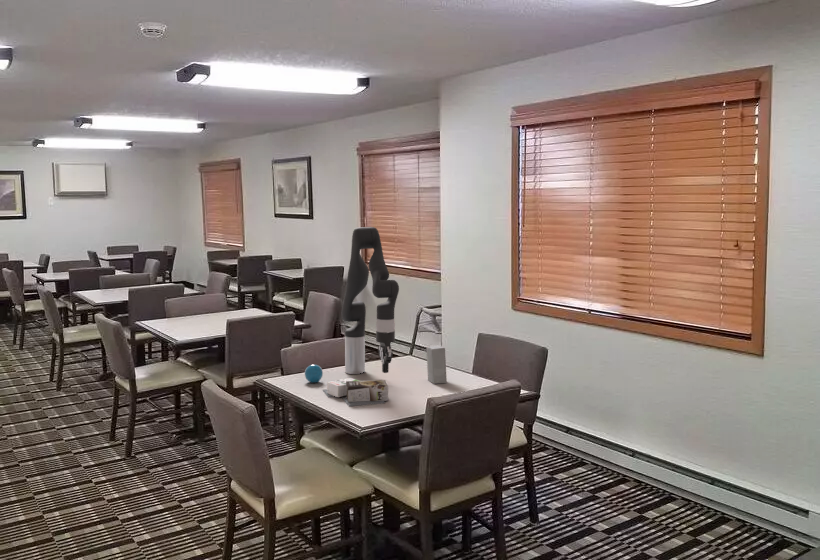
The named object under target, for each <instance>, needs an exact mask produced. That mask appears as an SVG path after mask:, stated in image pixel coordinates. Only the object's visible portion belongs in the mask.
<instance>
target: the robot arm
mask: <svg viewBox="0 0 820 560" xmlns="http://www.w3.org/2000/svg"><path fill="white" fill-rule="evenodd" d="M364 249H365V250H366V249H367V250H368V249H373V252H372V255H371V257H370V259H369V261H368V265H367V263H366V262H365V260H364V259H363V257H362V255H361V250H364ZM384 258H385V257H384V252H383V246H382V241H381V236H380V232H379V230H378V229H377V227H374V226H365V227H364V226H363V227H361V226H360V227H359V226H358V227H355V228H354V229H353V231H352V237H351V249H350V261H349V266H348V270H347V277H346V278H347V279H346V287H345V288H346V289H345V293H344V297H343V301H342V304H341V314H340V315H341V320H342V321H344V322H346V323H347V322H348V323H349V322H350V323H351V322H354V323H355V322H356V323H355V324H354V325H352V326H351V327H348V328H346V329H345V331H344V369H345V370H344V372H345V374H350V375H358V374H359V375H360V373H361V374H364V373H365V372H366V368H365V367H366V360H365V359H366V352H365V351H366V346H365V345H366V341H365V339H366V338H365V337H366V314H367V313H366V307H367V306H366V305H365V302H364V301H362V300H361V301H354V300H355V299H356V298H357V297H358V296H359V295H360V293H362V292H363V290H365V288H366V286H367V285H368V282H369V276H370V275H371V279H372V286H371V287H372V288H371V289H372V290H371V291H372V295H373V296H374V297H375V298H377V299H384V298H385V299H387V300H386V301H385V302H383V303H379V304H377V306H376V322H375V341H376V342H377V343H379V346H378V347H377V351H378V355H379V360H380V361H381V364H382V365H381V372H382V373H384V374H387V373H389V364H392V363H391V362H392V359H393V355H394V352H393V351H392V346H391V344H392V343H394V342H395V341H396V337H395V336H396V322H395V307H396V303H397V299H398V295H399V291H400V286H399V284H398V281H396V280H395V279H389V278H390V272H389V269H388V267H387V264H386V262H385V259H384ZM369 274H370V275H369ZM363 372H364V373H363Z"/></svg>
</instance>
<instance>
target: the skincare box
mask: <svg viewBox="0 0 820 560" xmlns="http://www.w3.org/2000/svg"><path fill="white" fill-rule="evenodd" d="M425 349H426V366H427V367H426V368H427V381H429V382H430V383H432V384H435V385H437V384H447V383H448V381H447V379H448V378H447V359H446V358H447V357H446V348H445V347H444V346H442V345H440V344H439V345H438V344H437V345H429V346H428V345H427V346H426V348H425Z"/></svg>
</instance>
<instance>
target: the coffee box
mask: <svg viewBox="0 0 820 560" xmlns="http://www.w3.org/2000/svg"><path fill="white" fill-rule="evenodd" d="M345 397H346V398H347V400H348V402H363V401H384V402H385V401H389V386H388V383H387V381H386V380H385V379H376V380H375V379H372V380H359V381H346V396H345Z"/></svg>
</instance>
